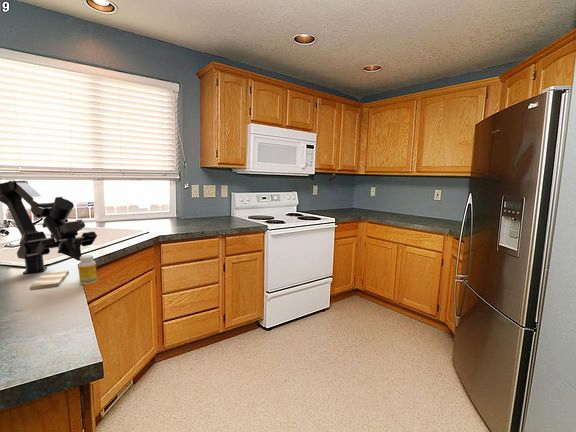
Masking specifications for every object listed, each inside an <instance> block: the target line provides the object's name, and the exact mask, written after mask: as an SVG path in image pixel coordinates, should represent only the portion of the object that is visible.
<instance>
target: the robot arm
mask: <svg viewBox="0 0 576 432" xmlns="http://www.w3.org/2000/svg"><path fill="white" fill-rule="evenodd" d="M23 200H24V201H25V202H26V203H28V205H29V206H30V212H31V213H32V215H33V216H34V217H35V218H37V219H42V218H44V220H43V223H42V228H47V229H48V231H49V233H50V238H47V236H46V233H45V232H44V231H38V229H36V227H35V225H34V223H33V221H32V219H31V216H30V214H29V213H28V211H27V209H26V207H25V204H24V203H23ZM0 202H1V203H3V204H4V205H6V206H7V209H8V210H9V212H10V215H11V217H12V218H13V219H12V220H13V221H14V224H15V225H16V227H17V229H18V231H19V233H20V235H21V238H20V240H19V245H20V246H19V248H18V250H17V252H16V255H17V258H18V259H21V260H24V263H25V264H24V265H25V270H24V271H23V272H22V274H23V275H24V274H25V275H26V274H33V273H34V274H35V273H43V272H44V271H46V270H47V268H48V266H45V265H44V256H45V255H49V254H50V252H51V250H50V249H55V248H57V249H58V251H57V253H58V254H62V255H65V256H66V257H67V256H68V257H69V258H71V259H74V260H76V261H80V257H81V256H82V251H81V247H87V246H92V245H93V244H94V241H96V239H97V237H98V234H97V233H96V232H95V231H86V232H83V233H82V234H81V236H78V235H79V231H81V230H82V229H84V228H85V227H86V224H85V222H84V221H83V219H77V220H75V221H68V222H66V221H65V220H67V219H68V218H69V217H70V214H71V212H72V211H73V209H74V207H75V205H74V202H72V201H70V200H68V199H66V198H63V196H55V199H54V200H52V199H50V198H47V197H44V196H42V195H41V194H40V193H39V192H38V191H36V190H35V188H33V187H32V186H31V185H30V184H29V182H28V181H27V180H25V179H12V180H9V181H6V182H1V183H0ZM76 236H78V237H76ZM80 262H81V261H80Z"/></svg>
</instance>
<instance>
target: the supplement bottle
mask: <svg viewBox="0 0 576 432" xmlns="http://www.w3.org/2000/svg"><path fill="white" fill-rule="evenodd" d="M77 266H78V267H77V268H78V269H77V270H78V278H79V284H81V285H90V284H94V283H96V282H97V281H98V274H97V273H98V272H97V263H96V261H95V260H94V255H92V254H87V255H86V254H85V255H81V257H80V262H79V263H78V264H77Z"/></svg>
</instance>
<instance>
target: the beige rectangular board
mask: <svg viewBox="0 0 576 432" xmlns="http://www.w3.org/2000/svg"><path fill="white" fill-rule="evenodd" d="M69 273H70V271H69V270H64V271H63V270H60V271H52V272H44V273H42V274H41V275H40V276H39V277H38V278H37V279H36V280H34V282H33V283H31V285H30V286H29V290H37V289H45V288H52V287H59V286H60V285H61V284H62V282H63V281H64V280H65V279H66V277H67V276H68V275H69Z"/></svg>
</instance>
